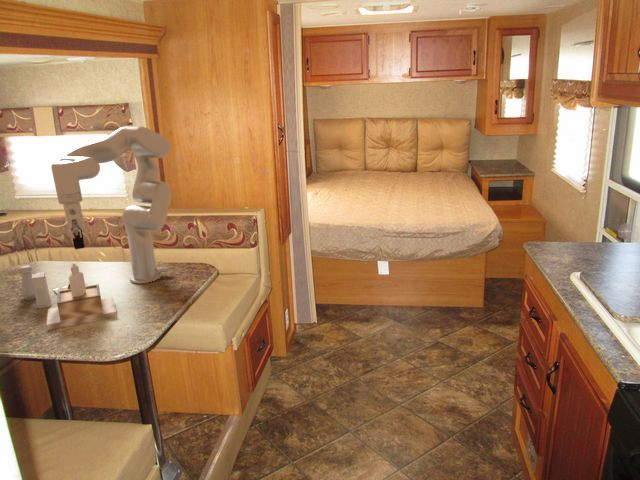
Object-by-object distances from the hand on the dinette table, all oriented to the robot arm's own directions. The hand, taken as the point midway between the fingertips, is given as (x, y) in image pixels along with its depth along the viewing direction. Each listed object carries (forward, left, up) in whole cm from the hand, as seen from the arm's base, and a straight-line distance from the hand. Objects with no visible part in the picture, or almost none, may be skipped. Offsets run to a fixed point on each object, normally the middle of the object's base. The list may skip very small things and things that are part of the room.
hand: (79, 244), depth 182 cm
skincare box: (+16, -12, -25) cm, 32 cm away
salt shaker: (+21, -22, -25) cm, 40 cm away
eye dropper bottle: (+3, +5, -17) cm, 18 cm away
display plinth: (+3, +5, -25) cm, 26 cm away
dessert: (+6, -22, -26) cm, 34 cm away
